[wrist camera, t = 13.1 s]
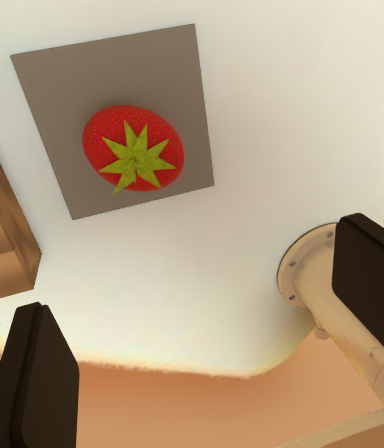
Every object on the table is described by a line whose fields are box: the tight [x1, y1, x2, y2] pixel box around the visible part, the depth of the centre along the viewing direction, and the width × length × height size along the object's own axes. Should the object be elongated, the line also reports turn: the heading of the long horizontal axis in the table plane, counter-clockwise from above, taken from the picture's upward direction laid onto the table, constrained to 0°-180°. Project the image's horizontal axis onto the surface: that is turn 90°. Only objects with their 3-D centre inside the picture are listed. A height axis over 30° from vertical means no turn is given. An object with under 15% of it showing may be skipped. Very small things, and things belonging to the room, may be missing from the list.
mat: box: [10, 24, 214, 220], centre depth 29 cm, size 14×14×1 cm
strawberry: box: [82, 105, 184, 194], centre depth 25 cm, size 6×8×10 cm
